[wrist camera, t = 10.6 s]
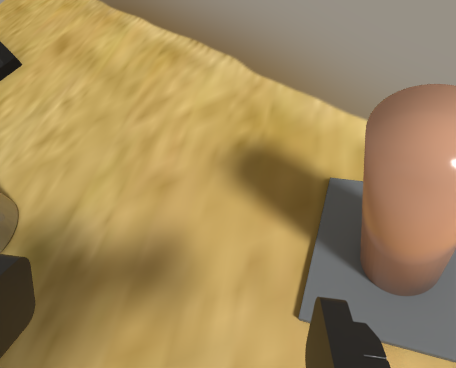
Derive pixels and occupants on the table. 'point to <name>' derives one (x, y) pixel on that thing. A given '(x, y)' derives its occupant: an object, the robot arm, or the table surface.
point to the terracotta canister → (410, 189)
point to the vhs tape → (7, 62)
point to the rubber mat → (367, 291)
